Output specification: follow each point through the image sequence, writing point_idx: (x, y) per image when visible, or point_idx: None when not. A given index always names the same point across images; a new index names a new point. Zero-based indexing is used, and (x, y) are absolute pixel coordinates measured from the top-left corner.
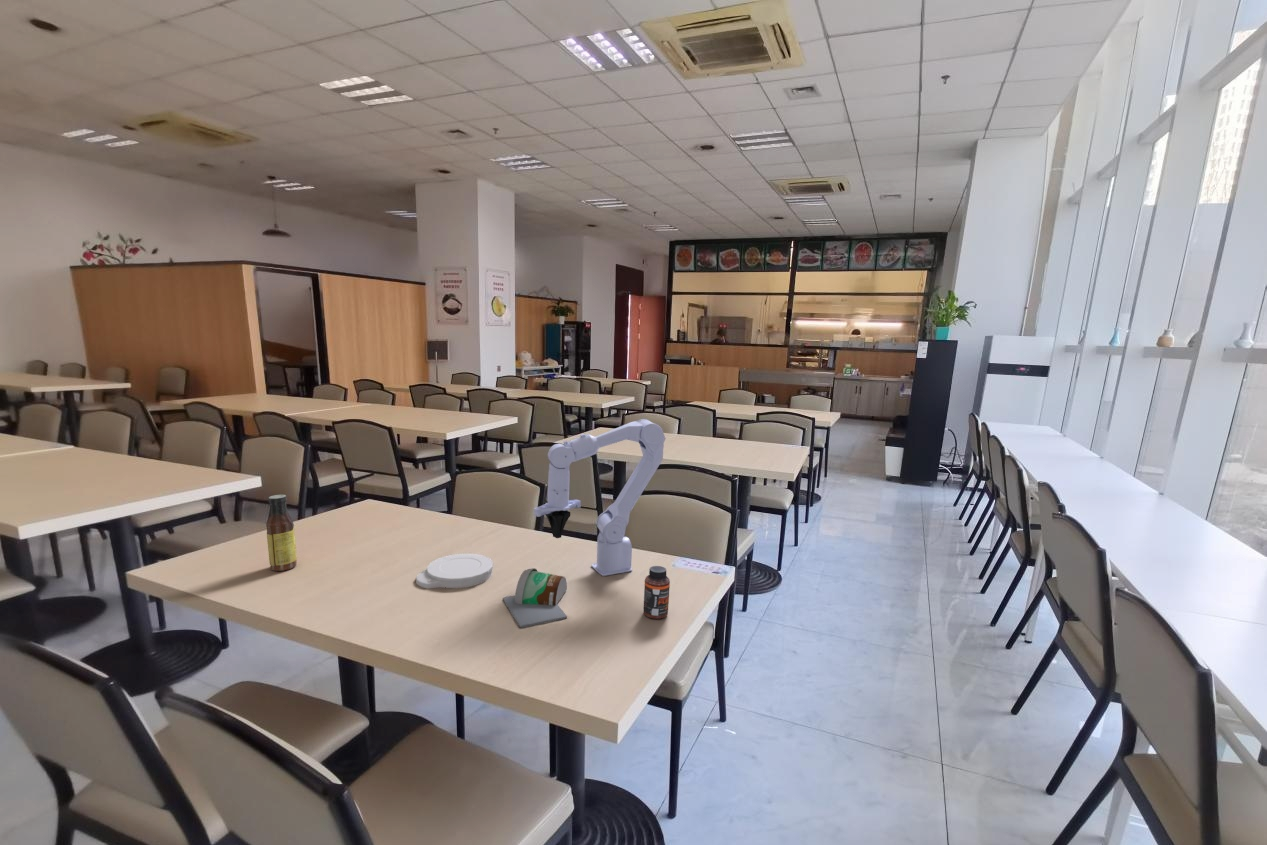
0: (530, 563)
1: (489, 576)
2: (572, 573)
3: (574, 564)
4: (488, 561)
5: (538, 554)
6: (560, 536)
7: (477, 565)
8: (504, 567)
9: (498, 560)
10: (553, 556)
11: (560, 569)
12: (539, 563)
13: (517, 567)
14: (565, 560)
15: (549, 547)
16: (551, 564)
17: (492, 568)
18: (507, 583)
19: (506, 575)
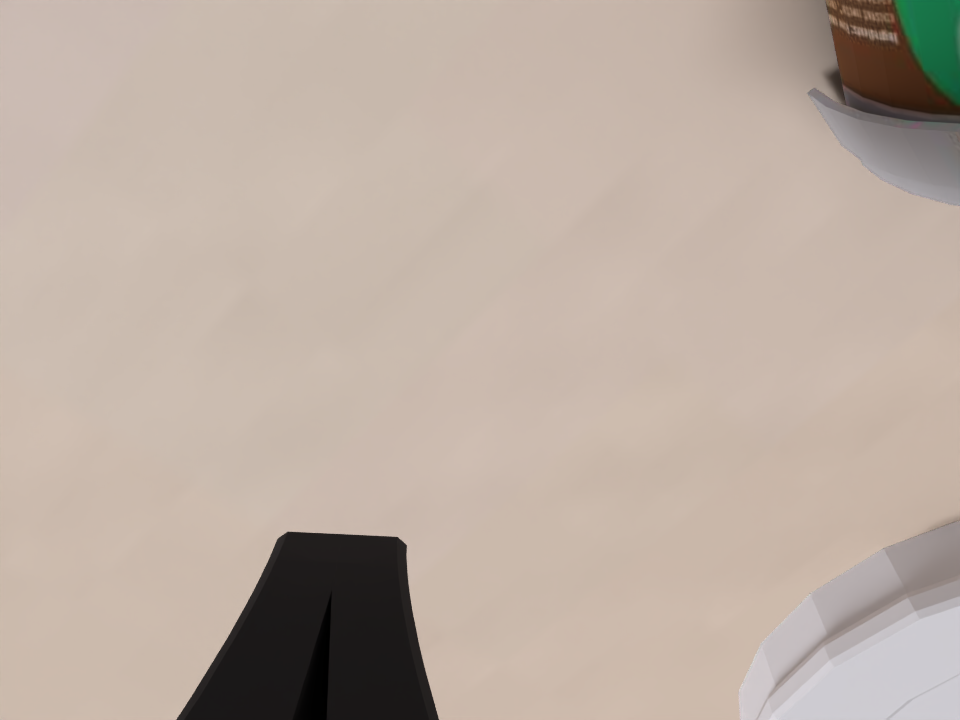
0: (431, 538)
1: (917, 544)
2: (218, 45)
3: (27, 241)
4: (832, 702)
5: (233, 626)
6: (309, 550)
7: (953, 695)
8: (665, 601)
9: (590, 705)
10: (130, 527)
11: (274, 248)
12: (361, 493)
13: (587, 544)
14: (68, 389)
15: (45, 672)
16: (274, 407)
17: (905, 602)
18: (947, 354)
19: (793, 484)
